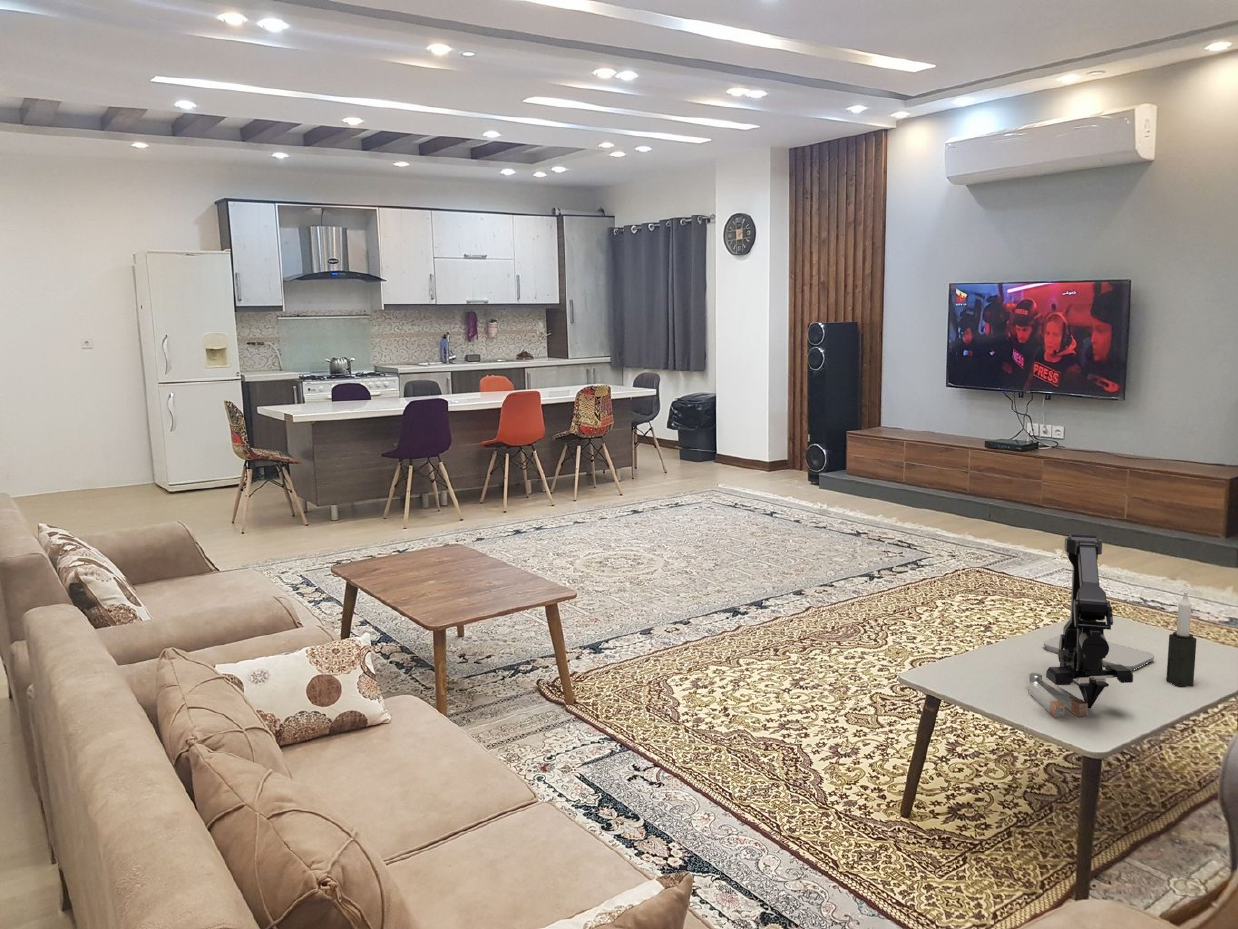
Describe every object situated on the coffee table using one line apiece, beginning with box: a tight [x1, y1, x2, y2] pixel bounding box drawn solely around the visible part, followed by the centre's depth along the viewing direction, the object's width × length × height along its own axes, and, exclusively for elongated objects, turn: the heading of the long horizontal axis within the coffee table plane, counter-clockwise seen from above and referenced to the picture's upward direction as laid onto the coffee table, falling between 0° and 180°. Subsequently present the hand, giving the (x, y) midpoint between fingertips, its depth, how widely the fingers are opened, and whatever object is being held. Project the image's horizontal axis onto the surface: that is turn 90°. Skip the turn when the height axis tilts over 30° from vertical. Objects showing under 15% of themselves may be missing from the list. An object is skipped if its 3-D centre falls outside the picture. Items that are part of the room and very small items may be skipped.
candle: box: [1166, 591, 1198, 688], centre depth 248 cm, size 5×5×25 cm
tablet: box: [1043, 634, 1155, 672], centre depth 272 cm, size 16×26×2 cm, turn 35°
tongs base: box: [1028, 672, 1066, 719], centre depth 239 cm, size 20×4×4 cm, turn 179°
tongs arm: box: [1042, 679, 1089, 718], centre depth 238 cm, size 16×2×3 cm, turn 8°
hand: (1088, 708), depth 232 cm, fingers closed
